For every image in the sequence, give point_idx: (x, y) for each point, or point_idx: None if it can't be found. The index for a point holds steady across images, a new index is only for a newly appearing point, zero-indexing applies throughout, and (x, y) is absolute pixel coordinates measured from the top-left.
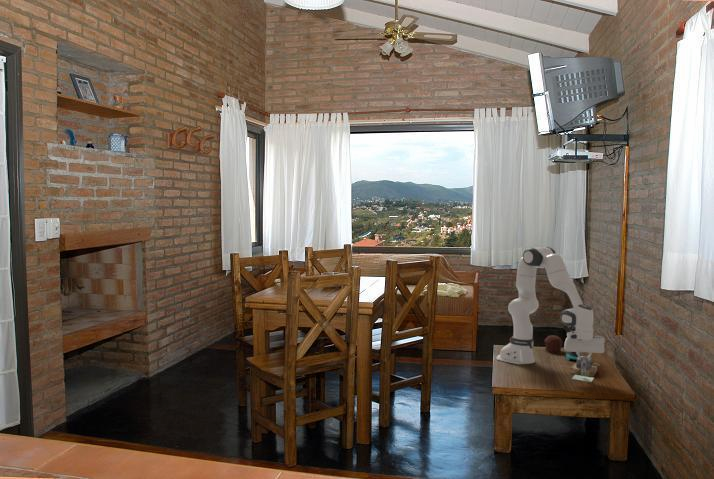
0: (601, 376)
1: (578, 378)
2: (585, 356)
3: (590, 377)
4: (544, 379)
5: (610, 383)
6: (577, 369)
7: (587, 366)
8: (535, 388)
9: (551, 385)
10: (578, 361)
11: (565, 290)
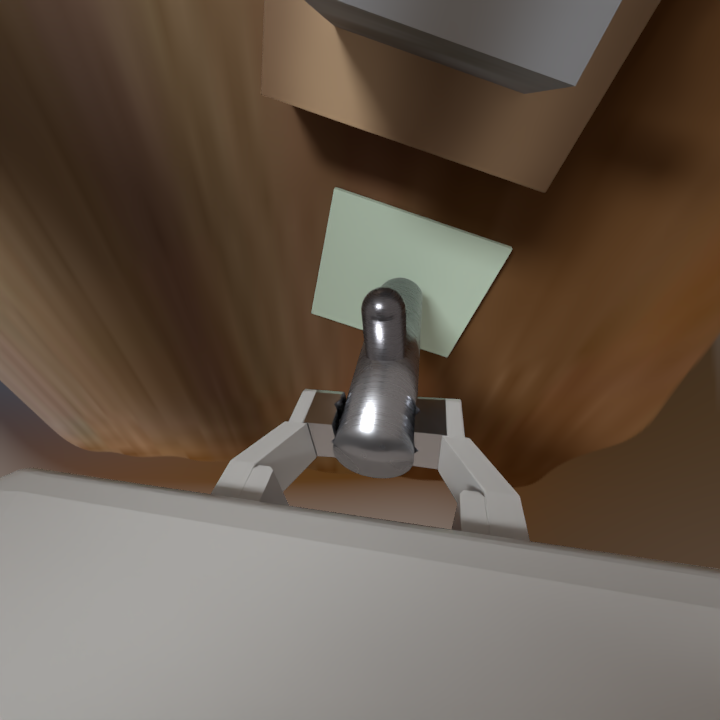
0: (655, 127)
1: (360, 303)
2: (398, 456)
3: (475, 250)
4: (161, 346)
5: (601, 354)
6: (351, 124)
7: (503, 80)
8: (184, 453)
9: (227, 422)
10: (341, 9)
11: None
